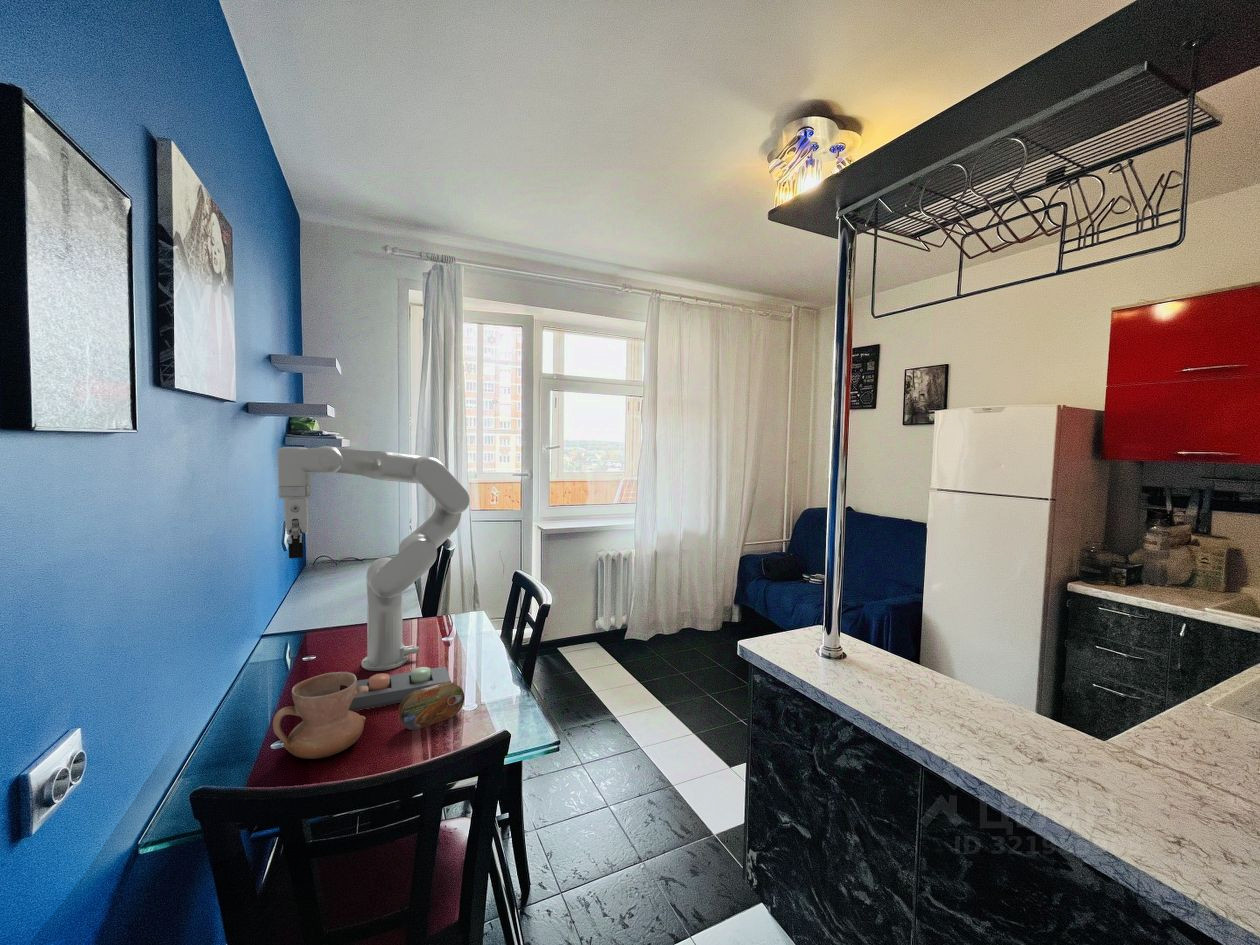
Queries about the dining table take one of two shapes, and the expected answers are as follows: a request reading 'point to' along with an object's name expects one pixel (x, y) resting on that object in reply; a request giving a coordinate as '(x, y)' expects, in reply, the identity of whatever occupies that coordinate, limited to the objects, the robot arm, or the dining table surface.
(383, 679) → the terracotta button
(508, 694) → the dining table surface
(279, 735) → the ceramic jug
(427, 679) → the sage button
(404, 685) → the button panel
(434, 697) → the tin
